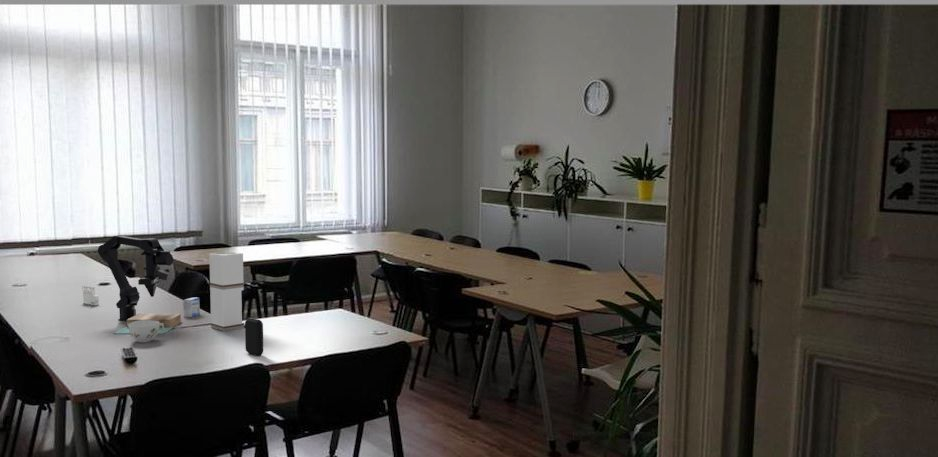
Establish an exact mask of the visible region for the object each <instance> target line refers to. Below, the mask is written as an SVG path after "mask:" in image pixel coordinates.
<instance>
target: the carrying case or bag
mask: <svg viewBox="0 0 938 457" xmlns="http://www.w3.org/2000/svg"><path fill="white" fill-rule="evenodd" d="M243 329H244V331H245V332H244V336H245V338H244V339H245V343H244V344H245V352H247V354H250V355H254V356H257V357H261V356H262V355H263V354H264V323H263V321H262V320H260V319H257V318H251V317H248V318H246V320H245V322H244V328H243Z"/></svg>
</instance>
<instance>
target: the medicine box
mask: <svg viewBox="0 0 938 457" xmlns="http://www.w3.org/2000/svg"><path fill="white" fill-rule="evenodd" d="M182 303H183V304H182V305H183V307H182V309H183V317H184V318H194V317H196V316H198V315H200V312H201V311H200V310H201V308H200V307H201V306H200V297H197V296H196V297H190V298H185V299H183V301H182Z"/></svg>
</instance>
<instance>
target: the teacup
mask: <svg viewBox="0 0 938 457" xmlns="http://www.w3.org/2000/svg"><path fill="white" fill-rule="evenodd" d="M128 326H129V330H130V333H131V334H130V335H131V337H132V338H133V340H135V341H136V342H138V343H149V342H151V341H153V339H154V338H156V336H157V335H160V334H159V333H161V332H162V331H163V329H164V324H163V323H159V322H158V321H151V320H141V321H135V322H131V323H129V324H128ZM159 326H162V330H161V331H159V332H158V330H159Z"/></svg>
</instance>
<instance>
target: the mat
mask: <svg viewBox="0 0 938 457" xmlns="http://www.w3.org/2000/svg"><path fill="white" fill-rule="evenodd" d="M172 329H173V327H172V328H164V329H163V331H162V332H161V333H159V334H158V335H164V334H165V333H167V332H169V331H170V330H172ZM161 330H162V328H159V330H158V332H159V331H161ZM168 330H169V331H168ZM163 333H164V334H163ZM113 334H114V335H116V334H117V335H131V333H130V330H129V327H127V326H125V327H123V328H121V329H120V330H117V331H115V332H113Z"/></svg>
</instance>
